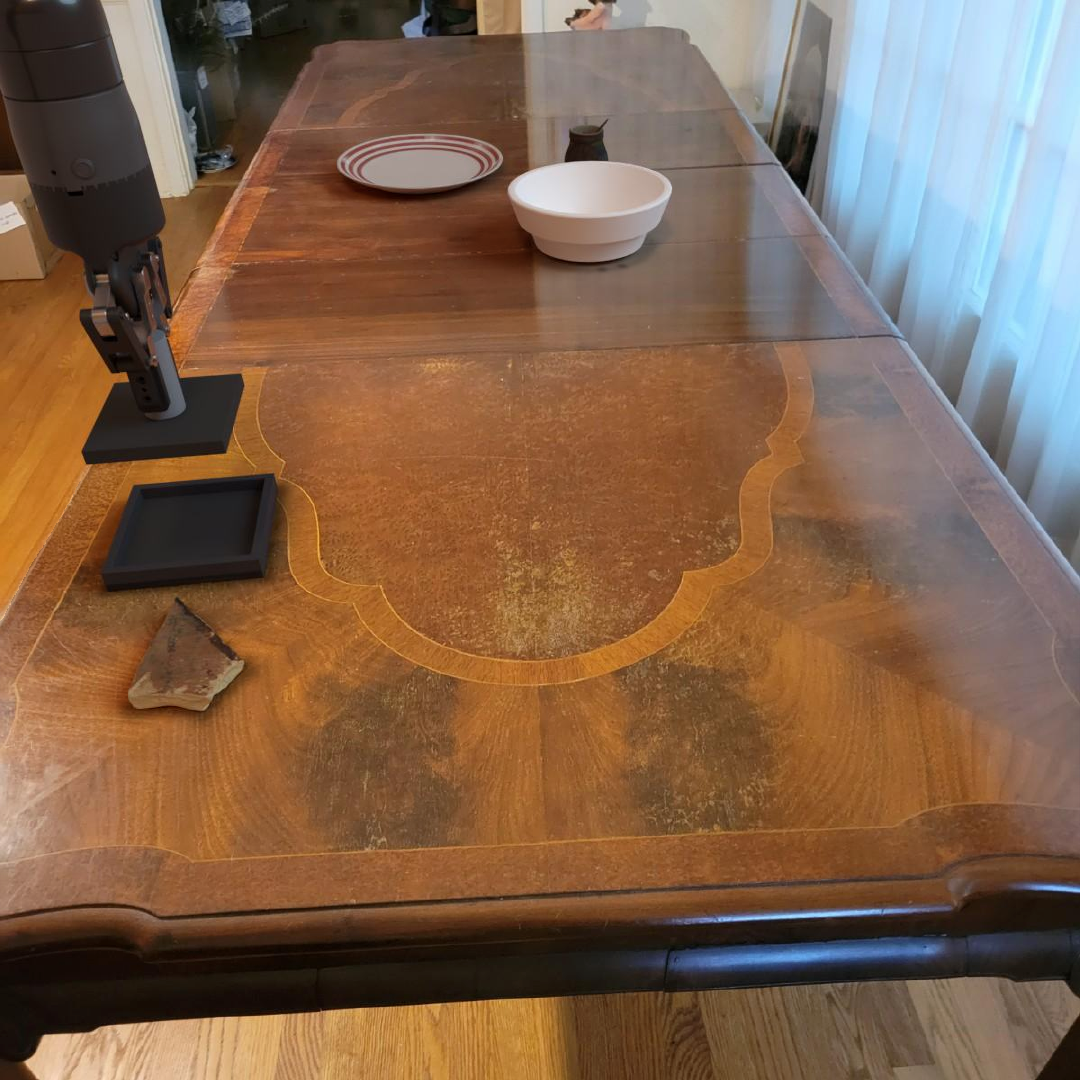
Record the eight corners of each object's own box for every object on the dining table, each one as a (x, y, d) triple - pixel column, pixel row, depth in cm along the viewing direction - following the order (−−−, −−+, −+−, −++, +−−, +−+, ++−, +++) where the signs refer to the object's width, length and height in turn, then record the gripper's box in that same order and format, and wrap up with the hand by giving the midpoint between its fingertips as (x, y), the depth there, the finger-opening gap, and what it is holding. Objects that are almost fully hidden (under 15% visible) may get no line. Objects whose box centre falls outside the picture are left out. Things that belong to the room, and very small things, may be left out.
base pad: (107, 591, 82) (100, 573, 81) (139, 501, 93) (133, 484, 91) (263, 577, 83) (259, 559, 82) (278, 489, 94) (274, 472, 92)
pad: (85, 465, 71) (51, 377, 66) (118, 395, 78) (90, 312, 74) (226, 454, 71) (202, 365, 67) (245, 386, 79) (224, 302, 74)
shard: (180, 610, 80) (175, 593, 79) (271, 612, 80) (267, 596, 79) (127, 709, 72) (120, 692, 71) (228, 713, 71) (223, 696, 70)
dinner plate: (527, 159, 170) (527, 139, 168) (461, 213, 151) (460, 191, 149) (388, 145, 179) (386, 126, 177) (308, 195, 159) (304, 174, 157)
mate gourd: (573, 170, 165) (572, 107, 159) (615, 175, 163) (617, 111, 156) (557, 184, 160) (556, 120, 154) (601, 189, 157) (602, 123, 151)
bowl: (696, 262, 133) (701, 201, 128) (540, 289, 128) (538, 226, 123) (630, 208, 150) (632, 152, 145) (490, 230, 145) (486, 172, 139)
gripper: (58, 133, 68) (130, 357, 79) (-10, 204, 57) (85, 453, 68) (168, 127, 68) (225, 350, 79) (121, 196, 57) (195, 444, 68)
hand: (160, 396), depth 73 cm, fingers closed on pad, 3 cm apart
